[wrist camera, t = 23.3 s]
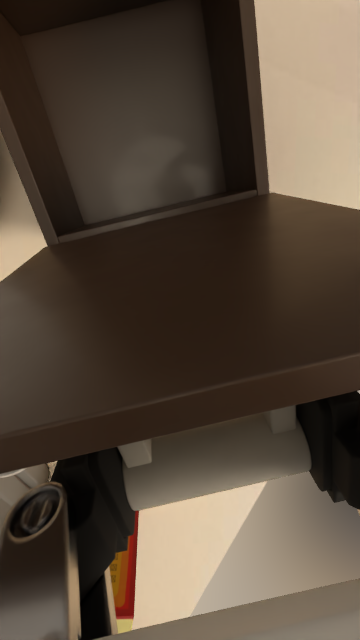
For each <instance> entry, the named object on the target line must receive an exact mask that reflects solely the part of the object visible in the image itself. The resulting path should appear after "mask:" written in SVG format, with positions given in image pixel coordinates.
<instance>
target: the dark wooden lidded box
mask: <svg viewBox="0 0 360 640" xmlns="http://www.w3.org/2000/svg"><path fill="white" fill-rule="evenodd" d="M0 129H1V132H2V134H3V137H4V139H5V142H6V144H7V147H8V149H9V152H10V154H11V156H12V159H13V161H14V164H15V166H16V169H17V171H18V174H19V176H20V179H21V181H22V184H23V186H24V189H25V191H26V193H27V196H28V198H29V201H30V203H31V206H32V208H33V211H34V213H35V216H36V218H37V221H38V223H39V226H40V228H41V231H42V233H43V235H44V238H45V240H46V243H47V245H48V246H52V245H56V244H60V243H64V242H68V241H73V240H77V239H81V238H85V237H89V236H93V235H98V234H102V233H106V232H110V231H114V230H119V229H123V228H127V227H131V226H135V225H139V224H144V223H148V222H152V221H156V220H160V219H164V218H169V217H173V216H177V215H181V214H185V213H190V212H194V211H198V210H202V209H206V208H210V207H215V206H219V205H223V204H227V203H231V202H236V201H240V200H244V199H248V198H252V197H256V196H261V195H265V194H269V181H268V169H267V156H266V144H265V131H264V119H263V106H262V94H261V81H260V69H259V56H258V44H257V31H256V18H255V6H254V0H0Z"/></svg>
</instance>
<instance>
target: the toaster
mask: <svg viewBox="0 0 360 640" xmlns="http://www.w3.org/2000/svg"><path fill="white" fill-rule="evenodd" d="M48 478H49V471H48V467H47V466H46V464H41V465H37V466H32V467H28V468H26V469H25V470H23V471H21V472H20V473H17V474H15V475H12V476H8V477H3V478H0V535H1V530H2V526H3V523H4V520H5V517H6V515H7V514H8V512H9V510H10V509H11V507H12V506H13V505H14V504H15V503H16V501H17V500H18V499H19V498H20V497H21V496H23V495H24V494H25V493H26V492H27V491H29V490H30V489H32V488H34V487H35V486H37V485H40V484H43V483H45V482H47V481H48Z"/></svg>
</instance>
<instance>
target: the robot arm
mask: <svg viewBox="0 0 360 640" xmlns="http://www.w3.org/2000/svg"><path fill="white" fill-rule="evenodd" d="M296 417H297V419H298V420H299V422H300V424H301V426H302V429H303V431H304V433H305V436H306V439H307V442H308V445H309V449H310V453H311V460H312V467H311V469H310V470H309V472H310V473H311V475H312V477H313V479H314V481H315V483H316V484H317V486H318V488H319V489H320V490H321V491H326V490H327V492H328V493H329V495H330V497H331V498H332V500H333V502H334V503H335V502H340V501H344V500H346V501H347V503H348V504H349V505H351V506H353V507H355V508H357V509H358V512H359V515H360V394H359V393H358V392H357V391H354V392H349V393H345V394H341V395H337V396H332V397H328V398H324V399H319V400H315V401H311V402H307V403H302V404H298V405H296ZM135 513H136V511H134V510H132V509H131V507H130V505H129V503H128V500H127V497H126V493H125V488H124V482H123V472H122V456H121V454H120V451H119V449H118V447H114V448H109V449H105V450H101V451H97V452H92V453H88V454H84V455H79V456H75V457H71V458H67V459H62V460H58V462H57V464H56V467H55V470H54V473H53V475H52V478H51V481H50V482H45V483H43V484H40V485H37V486H35V487H34V488H32V489H30V490H29V491H27V492H26V493H25V494H24V495H23V496H21V497H20V498H19V499H18V500H17V501H16V503H15V504H14V505H13V506H12V507H11V509H10V510H9V512H8V514H7V515H6V517H5V520H4V523H3V526H2V530H1V535H0V640H360V579H356V580H351V581H346V582H342V583H338V584H333V585H329V586H324V587H319V588H315V589H311V590H306V591H302V592H298V593H293V594H288V595H284V596H280V597H275V598H271V599H267V600H262V601H258V602H253V603H249V604H244V605H240V606H236V607H231V608H227V609H223V610H218V611H214V612H210V613H206V614H201V615H196V616H192V617H188V618H183V619H179V620H174V621H170V622H166V623H162V624H157V625H153V626H149V627H145V628H140V629H136V630H132V631H127V632H123V633H119V634H118V629H117V621H116V613H115V606H114V598H113V591H112V583H111V576H110V568H109V565H110V564H111V563H112V562H113V560H114V559H115V554H116V553H118V552H123V551H127V549H128V536H131V535H133V534H134V529H135Z"/></svg>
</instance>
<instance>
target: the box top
mask: <svg viewBox="0 0 360 640" xmlns="http://www.w3.org/2000/svg"><path fill="white" fill-rule="evenodd" d="M358 390H360V210H357V209H352V208H347V207H342V206H337V205H332V204H327V203H322V202H317V201H312V200H307V199H301V198H296V197H291V196H286V195H281V194H276V193H269V194H265V195H261V196H256V197H252V198H248V199H244V200H240V201H236V202H231V203H227V204H223V205H219V206H215V207H210V208H206V209H202V210H198V211H194V212H190V213H185V214H181V215H177V216H173V217H169V218H164V219H160V220H156V221H152V222H148V223H144V224H139V225H135V226H131V227H127V228H123V229H119V230H114V231H110V232H106V233H102V234H98V235H93V236H89V237H85V238H81V239H77V240H73V241H68V242H64V243H60V244H56V245H52V246H48V247H45V248H43V249H42V250H41V251H40V252H38V253H37V254H36V255H34V256H33V257H32V258H31V259H29V260H28V261H27V262H25V263H24V264H23V265H22V266H20V267H19V268H18V269H17V270H15V271H14V272H13V273H11V274H10V275H9V276H8V277H6V278H5V279H4V280H2V281H1V282H0V474H2V473H7V472H11V471H15V470H19V469H24V468H28V467H32V466H37V465H41V464H45V463H49V462H54V461H58V460H62V459H67V458H71V457H75V456H79V455H84V454H88V453H92V452H97V451H101V450H105V449H109V448H114V447H118V449H119V451H120V454H121V456H122V472H123V482H124V488H125V493H126V497H127V500H128V503H129V505H130V507H131V509H132V510H134V511H139V510H143V509H147V508H152V507H156V506H160V505H165V504H169V503H173V502H178V501H182V500H186V499H191V498H195V497H199V496H203V495H208V494H212V493H216V492H221V491H225V490H229V489H234V488H238V487H242V486H247V485H251V484H255V483H260V482H264V481H268V480H272V479H277V478H281V477H285V476H290V475H294V474H298V473H303V472H307V471H309V470H310V469H311V467H312V460H311V453H310V449H309V445H308V442H307V439H306V436H305V433H304V431H303V429H302V426H301V424H300V422H299V420H298V419H297V417H296V405H298V404H302V403H307V402H311V401H315V400H319V399H324V398H328V397H332V396H337V395H341V394H345V393H349V392H354V391H358Z"/></svg>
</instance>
